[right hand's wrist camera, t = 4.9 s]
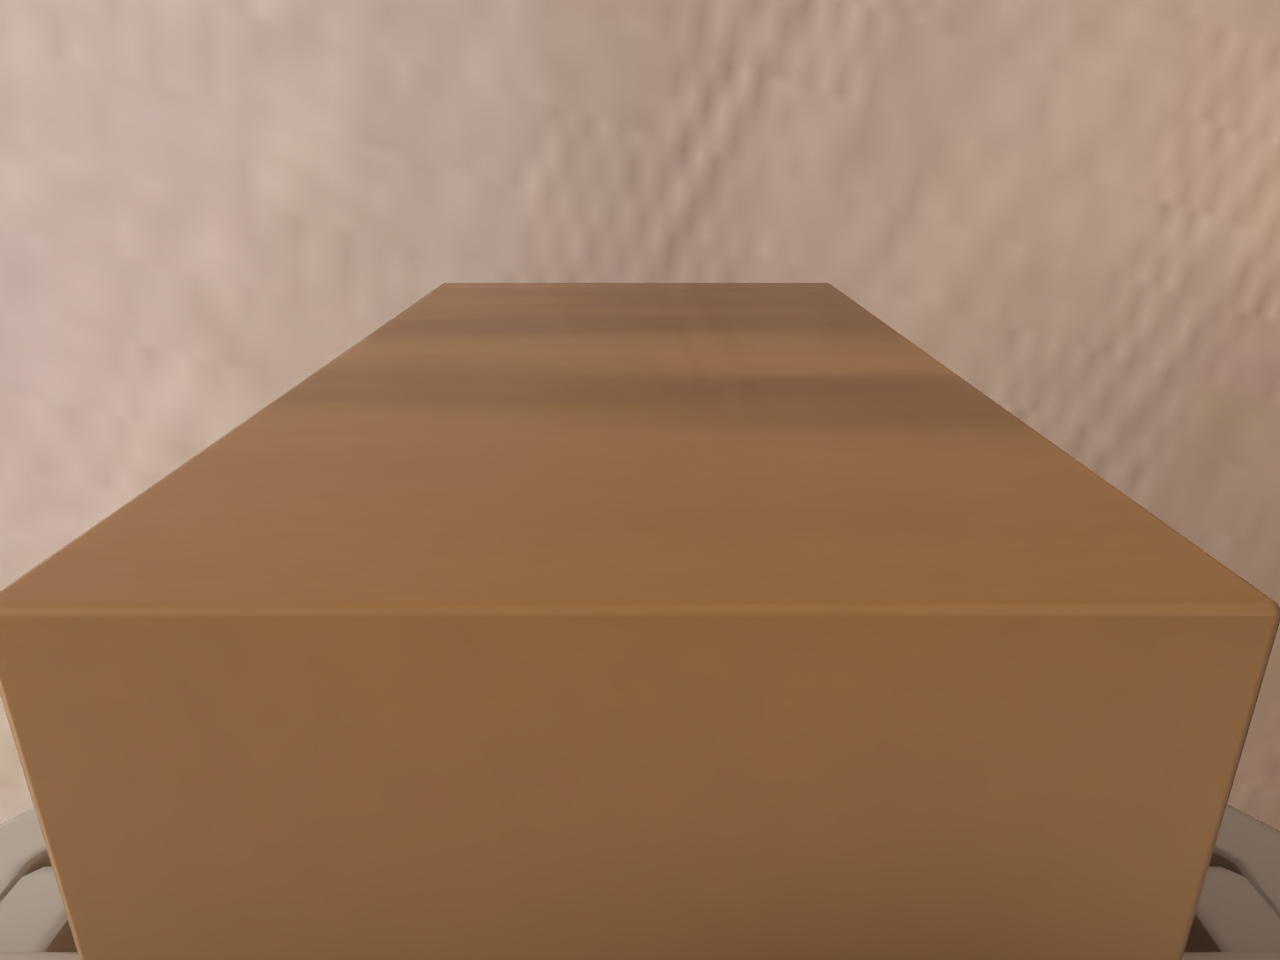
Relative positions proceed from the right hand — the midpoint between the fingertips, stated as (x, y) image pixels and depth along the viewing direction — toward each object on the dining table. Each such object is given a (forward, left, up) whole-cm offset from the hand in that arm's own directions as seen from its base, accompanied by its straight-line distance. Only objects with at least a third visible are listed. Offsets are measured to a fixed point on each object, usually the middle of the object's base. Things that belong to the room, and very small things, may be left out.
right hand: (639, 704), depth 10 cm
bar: (+8, 0, -4) cm, 9 cm away
